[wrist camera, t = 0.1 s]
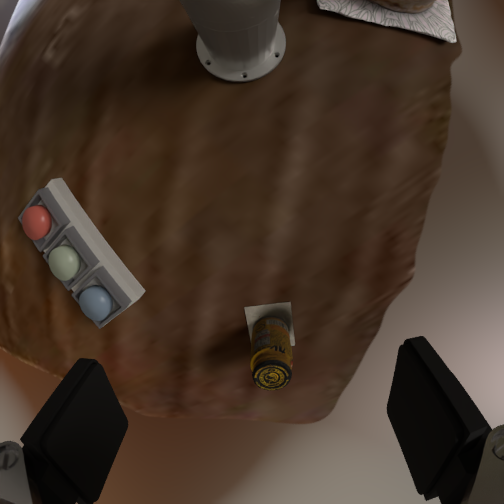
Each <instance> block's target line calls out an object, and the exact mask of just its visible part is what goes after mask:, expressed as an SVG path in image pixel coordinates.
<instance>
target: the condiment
mask: <svg viewBox="0 0 504 504" xmlns="http://www.w3.org/2000/svg"><path fill="white" fill-rule="evenodd" d="M244 308H245V314H246V319H247V325H248V329H249V335H250V340H251V358H250V365H251V369H252V373H253V375H252V376H253V380H254V382H255V384H256V385H257V386H258V387H259V388H262V389H265V390H279V389H281V388H283V387H285V386H286V385H287V384H288V383H289V381H290V379H291V376H292V372H291V369H292V366H293V357H292V351H291V346H294V345H295V340H294V330H293V321H292V312H291V303H290V302H286V303H276V304H268V305H260V306H252V307H244ZM260 315H261V316H260ZM259 316H260V317H259ZM258 318H259V319H258Z"/></svg>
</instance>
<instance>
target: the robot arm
mask: <svg viewBox="0 0 504 504" xmlns="http://www.w3.org/2000/svg"><path fill="white" fill-rule="evenodd" d="M280 1H281V0H180V2H181V4H182V5H183V7H184V9H185V10H186V12H187V14H188V16H189V18H190V20H191V21H192V23H193V25H194V27H195V29H196V30H197V32H198V36H197V40H196V50H197V55H198V57H199V59H200V62H201V63H202V65H203V66H204V67H205V68H206V69H207V70H208V71H209V72H210V73H211V74H213V75H214V76H216V77H218V78H220V79H223V80H226V81H230V82H249V81H253V80H257V79H259V78H262V77H264V76H265V75H267V74H269V73H270V72H272V71H273V70H274V69H275V68H276V67H277V66H278V64H279V63H280V61H281V60H282V57H283V55H284V52H285V47H286V39H285V34H284V31H283V29H282V27H281V25H280V24H279V22H278V16H279V8H280ZM276 55H277V56H278V58H276V57H275V56H276ZM208 63H211V64H210V65H207V64H208ZM244 75H246V76H247V77H246V78H243V76H244ZM387 414H388V417H389V419H390V422H391V424H392V427H393V429H394V432H395V434H396V437H397V439H398V442H399V444H400V447H401V449H402V452H403V455H404V457H405V460H406V462H407V465H408V468H409V470H410V473H411V476H412V478H413V481H414V484H415V486H416V489H417V492H418V493H419V494H420V495H422V494H424V497H425V500H426V501H427V500H430V499H432V498H435V497H438V496H439V499H440V502H441V504H504V425H500V426H497V427H496V428H494V429H493V430H492V429H491V427H490V426H489V424H488V423H487V421H486V420H485V418H484V417H483V415H482V414H481V412H480V411H479V409H478V408H477V406H476V405H475V403H474V402H473V400H471V398H470V396H469V395H468V393H467V392H466V391H465V389H464V388H463V386H462V385H461V384H460V382H459V381H458V380H457V378H456V377H455V376H454V374H453V373H452V372H451V371H450V370H449V368H448V367H447V366H446V365H445V363H444V362H443V360H442V359H441V358H440V356H439V355H438V354H437V353H436V351H435V350H434V349H433V347H432V346H431V345H430V343H429V342H428V341H427V340H426V338H425V337H423V336H419V337H415V338H410V339H406V340H405V341H404V344H403V345H401V346H400V347H399V350H398V356H397V362H396V366H395V372H394V377H393V381H392V386H391V391H390V395H389V399H388V404H387ZM127 428H128V420H127V417H126V416H125V414H124V412H123V410H122V408H121V406H120V404H119V402H118V399H117V397H116V395H115V393H114V391H113V389H112V387H111V384H110V382H109V380H108V378H107V376H106V373H105V371H104V369H103V367H102V365H101V364H99V363H98V361H97V360H95V359H85V358H80V359H79V360H77V362H76V363H75V364H74V366H73V367H72V368H71V369H70V371H69V372H68V373H67V375H66V376H65V377H64V379H63V380H62V381H61V383H60V384H59V385H58V387H57V388H56V389H55V391H54V392H53V394H52V395H51V396H50V398H49V399H48V401H47V402H46V403H45V404H44V406H43V407H42V409H41V410H40V411H39V413H38V414H37V416H36V417H35V418H34V420H33V421H32V423H31V424H30V425H29V427H28V428H27V430H26V431H25V433H24V434H23V436H22V437H21V439H20V440H21V442H22V443H23V444H24V446H23V448H21V446H20V445H19V444H18V443H16V442H12V441H5V442H3V443H0V504H75V503H76V502H77V503H78V504H93V503H94V502H96V501H97V500H98V499H99V497H100V494H101V491H102V489H103V486H104V484H105V481H106V479H107V476H108V474H109V472H110V469H111V467H112V464H113V462H114V459H115V457H116V454H117V452H118V450H119V447H120V445H121V442H122V440H123V438H124V436H125V433H126V431H127Z"/></svg>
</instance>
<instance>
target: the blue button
mask: <svg viewBox="0 0 504 504" xmlns="http://www.w3.org/2000/svg"><path fill="white" fill-rule="evenodd" d="M79 304H80V307H81V309H82V311H83V313H84V314H85V315H86V316H87V317H89V318H90V319H92V320H95V321H101V320H103V319H104V318H105V317H106V316H107V315H108V314H109V313H110V312H111V310H112V308H113V301H112V297H111V295H110V294H109V292H108V291H107V290H106V289H105V288H103V287H101V286H99V285H91V286H89V287H88V288H87V289H86V290H85V291H84V292H82V293H81V295H80V298H79Z"/></svg>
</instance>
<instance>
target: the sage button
mask: <svg viewBox="0 0 504 504" xmlns="http://www.w3.org/2000/svg"><path fill="white" fill-rule="evenodd" d="M49 267H50V269H51V271H52V273H53V274H54V275H55V276H56V277H57V278H58V279H60V280H63V281H67V280H69V279H71V278H72V277H73V276H75V275H76V274H77V273H78V272H79V270H80V267H81V261H80V257H79V255H78V253H77V251H76V250H75V249H74V248H73V247H72V246H70V245H67V244H63V245H61V246H59V247H57V248H55V249H53V250H52V251H51V252H50V255H49Z"/></svg>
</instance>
